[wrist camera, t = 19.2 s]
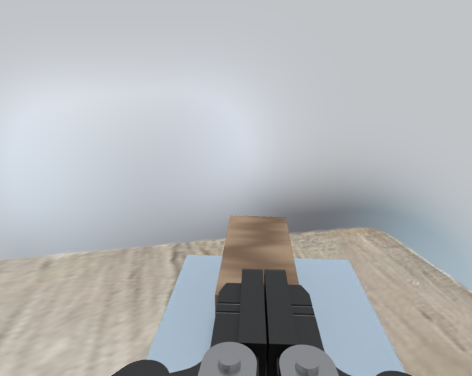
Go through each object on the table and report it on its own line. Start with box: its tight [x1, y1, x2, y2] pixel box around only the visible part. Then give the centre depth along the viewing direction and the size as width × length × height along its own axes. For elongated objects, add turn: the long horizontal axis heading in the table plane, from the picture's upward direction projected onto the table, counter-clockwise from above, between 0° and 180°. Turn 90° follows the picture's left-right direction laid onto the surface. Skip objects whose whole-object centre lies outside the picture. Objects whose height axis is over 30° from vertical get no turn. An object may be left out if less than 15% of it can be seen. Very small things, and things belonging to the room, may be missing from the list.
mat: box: [146, 255, 406, 376], centre depth 23 cm, size 16×24×1 cm, turn 177°
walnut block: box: [215, 216, 299, 314], centre depth 26 cm, size 5×5×12 cm
